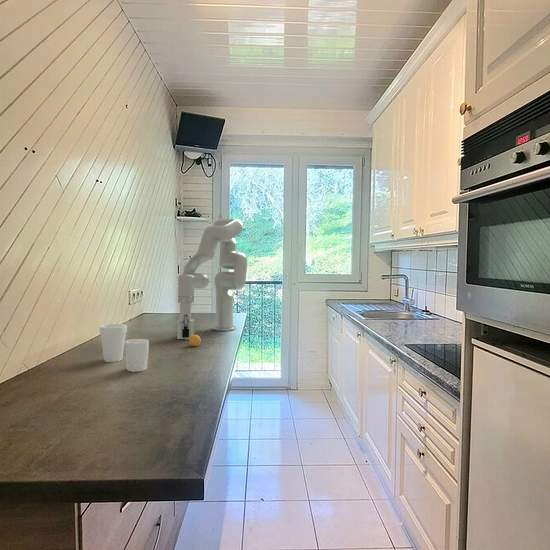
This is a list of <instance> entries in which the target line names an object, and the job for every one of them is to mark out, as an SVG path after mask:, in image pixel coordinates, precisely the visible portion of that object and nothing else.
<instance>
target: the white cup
mask: <svg viewBox="0 0 550 550" xmlns="http://www.w3.org/2000/svg"><path fill="white" fill-rule="evenodd" d="M149 348H150V340H149V339H146V338H131V339H127V340H125V344H124V350H125V363H126V365H125V366H126V370H127V371H128V372H130V371H131V372H132V373H133V372H134V373H135V372H136V373H137V372H138V373H139V372H143V371H146V370H147V368H148V360H149V351H150V350H149Z"/></svg>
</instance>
